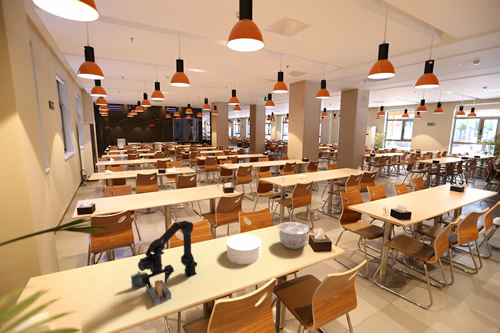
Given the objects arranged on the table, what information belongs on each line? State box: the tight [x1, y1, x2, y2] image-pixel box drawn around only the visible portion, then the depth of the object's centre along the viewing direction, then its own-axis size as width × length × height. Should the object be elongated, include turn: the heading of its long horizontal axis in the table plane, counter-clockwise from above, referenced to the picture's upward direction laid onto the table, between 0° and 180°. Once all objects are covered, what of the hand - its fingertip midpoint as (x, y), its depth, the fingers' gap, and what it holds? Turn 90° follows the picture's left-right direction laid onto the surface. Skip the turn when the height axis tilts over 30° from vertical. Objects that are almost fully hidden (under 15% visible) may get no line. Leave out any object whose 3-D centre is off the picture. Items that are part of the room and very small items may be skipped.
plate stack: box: [226, 233, 262, 265], centre depth 193 cm, size 28×28×12 cm
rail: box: [145, 279, 172, 307], centre depth 146 cm, size 10×16×4 cm, turn 39°
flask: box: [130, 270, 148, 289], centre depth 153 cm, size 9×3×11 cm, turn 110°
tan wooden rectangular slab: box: [154, 279, 162, 297], centre depth 145 cm, size 2×6×8 cm, turn 39°
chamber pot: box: [277, 221, 311, 250], centre depth 209 cm, size 28×28×21 cm
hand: (157, 286), depth 145 cm, fingers open, 9 cm apart
